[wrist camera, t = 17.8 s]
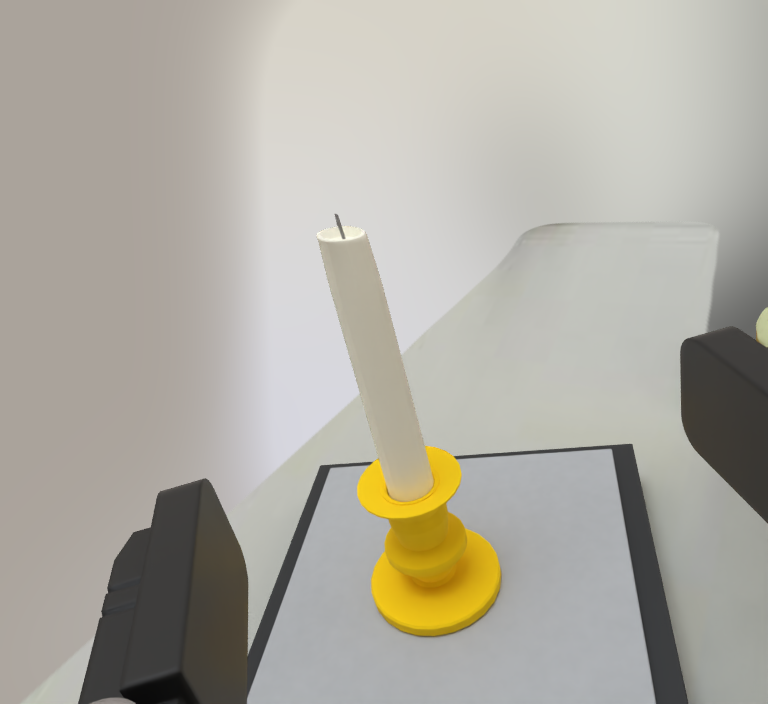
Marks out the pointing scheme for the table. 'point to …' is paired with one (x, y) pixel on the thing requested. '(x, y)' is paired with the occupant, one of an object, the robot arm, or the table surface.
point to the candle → (404, 465)
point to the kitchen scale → (505, 616)
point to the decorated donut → (762, 328)
